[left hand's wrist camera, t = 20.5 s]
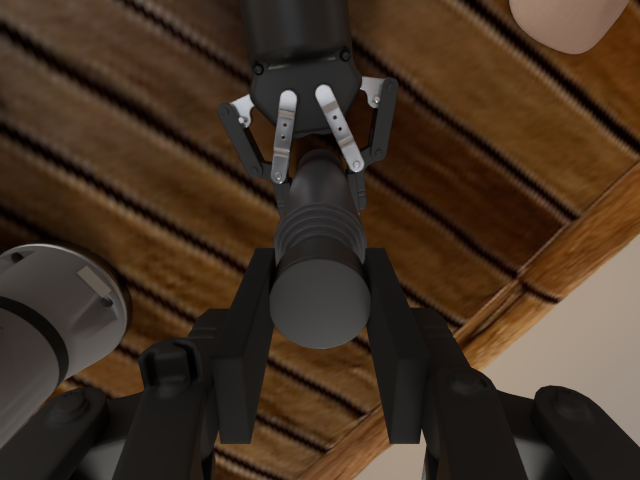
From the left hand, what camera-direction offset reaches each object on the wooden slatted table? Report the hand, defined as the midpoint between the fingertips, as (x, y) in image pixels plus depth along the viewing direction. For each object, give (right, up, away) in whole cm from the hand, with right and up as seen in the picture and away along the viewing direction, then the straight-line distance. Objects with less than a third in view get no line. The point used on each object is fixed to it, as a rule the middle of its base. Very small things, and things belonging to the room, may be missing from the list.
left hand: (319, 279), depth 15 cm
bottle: (0, +8, +22) cm, 23 cm away
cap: (0, -1, -2) cm, 2 cm away
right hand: (0, +4, +16) cm, 17 cm away
